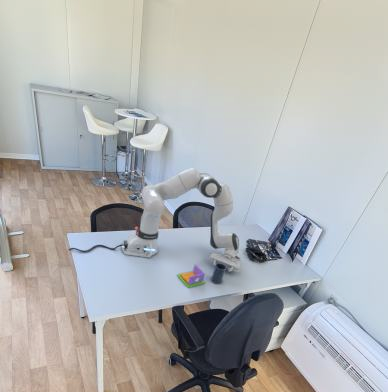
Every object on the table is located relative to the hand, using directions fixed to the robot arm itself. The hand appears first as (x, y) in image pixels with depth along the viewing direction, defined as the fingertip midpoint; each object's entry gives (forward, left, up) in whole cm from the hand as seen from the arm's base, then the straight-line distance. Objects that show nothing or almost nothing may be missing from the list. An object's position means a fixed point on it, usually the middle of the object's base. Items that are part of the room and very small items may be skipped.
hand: (221, 268), depth 176 cm
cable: (+37, +23, -6) cm, 44 cm away
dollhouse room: (-19, -4, -6) cm, 21 cm away
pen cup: (-3, -5, -6) cm, 8 cm away
